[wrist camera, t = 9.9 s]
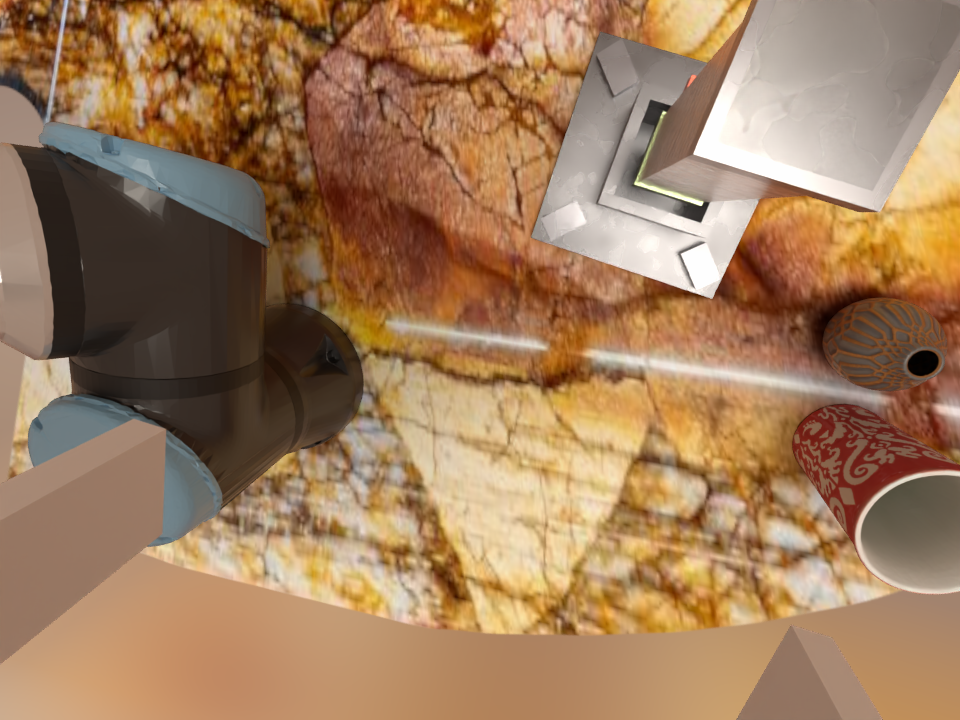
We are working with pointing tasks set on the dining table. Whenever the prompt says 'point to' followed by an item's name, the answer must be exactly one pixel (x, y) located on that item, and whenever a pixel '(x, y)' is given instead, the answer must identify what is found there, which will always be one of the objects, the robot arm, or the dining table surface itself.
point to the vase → (885, 344)
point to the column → (808, 104)
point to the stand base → (612, 168)
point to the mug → (886, 496)
